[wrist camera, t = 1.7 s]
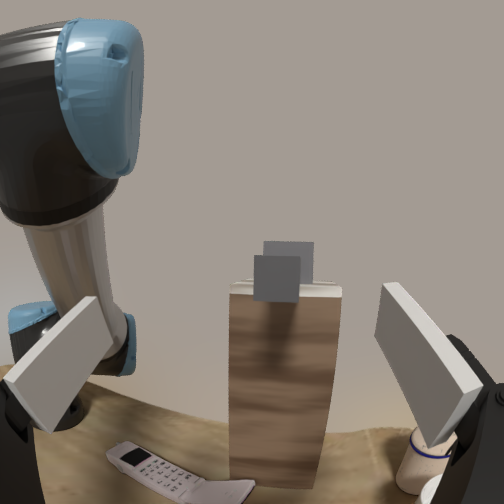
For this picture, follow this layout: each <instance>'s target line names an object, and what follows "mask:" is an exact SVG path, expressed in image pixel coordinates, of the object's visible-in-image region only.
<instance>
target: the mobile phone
mask: <svg viewBox="0 0 504 504" xmlns="http://www.w3.org/2000/svg"><path fill="white" fill-rule="evenodd" d="M106 456H107V459H108V460H109V461H110V462H111V463H112V464H113V465H115V466H116V467H117V468H118V470H119V471H120V472H121V473H123V474H124V473H126V474H127V475H129V476H130V477H132V478H133V479H135V480H136V481H138V482H140V483H141V484H143V485H144V486H146V487H148V488H149V489H151V490H153V491H155V492H157V493H159V494H161V495H162V496H164V497H166V498H168V499H170V500H172V501H174V502H177V503H179V504H189V503H191V504H243V502H244V501H245V500H246V498H247V497H248V496H249V494H250V493H251V491H252V490H253V488H254V487H255V481H254V480H235V481H205V479H204V478H200V477H198V476H196V475H193V474H191V473H189V472H187V471H185V470H183V469H181V468H179V467H177V466H175V465H173V464H171V463H169V462H167V461H165V460H163V459H161V458H159V457H157V456H156V455H155V454H153V453H151V452H149V451H147V450H145V449H143V448H141V447H139V446H137V445H135V444H133V443H131V442H129V441H125V442H123V443H119V442H117V443H116V446H115V447H113V448H111V449H109V450H107V451H106Z"/></svg>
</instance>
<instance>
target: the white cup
mask: <svg viewBox="0 0 504 504" xmlns="http://www.w3.org/2000/svg"><path fill="white" fill-rule="evenodd" d="M442 475H443V473H442V474H439V475H437V476H435V477H433V478H432V479H430V480H429V481H428V482H427V483H426V484H425V485H424V487H423V489H422V491H421V493H420V494H419V496H418V498H417V500H416V502H415V503H414V504H430V502H431V500H432V498H433V496H434V494H435V491H436V489H437V487H438V485H439V482H440V480H441V478H442Z"/></svg>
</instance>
